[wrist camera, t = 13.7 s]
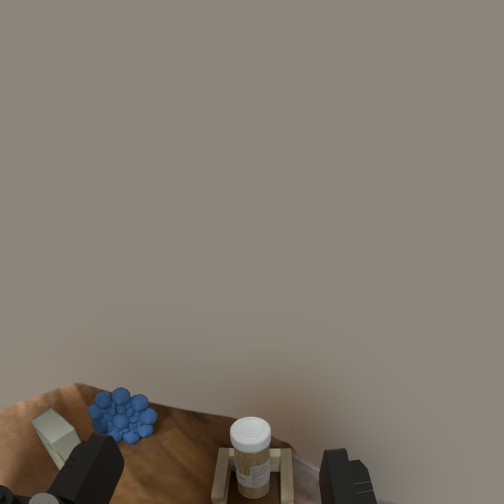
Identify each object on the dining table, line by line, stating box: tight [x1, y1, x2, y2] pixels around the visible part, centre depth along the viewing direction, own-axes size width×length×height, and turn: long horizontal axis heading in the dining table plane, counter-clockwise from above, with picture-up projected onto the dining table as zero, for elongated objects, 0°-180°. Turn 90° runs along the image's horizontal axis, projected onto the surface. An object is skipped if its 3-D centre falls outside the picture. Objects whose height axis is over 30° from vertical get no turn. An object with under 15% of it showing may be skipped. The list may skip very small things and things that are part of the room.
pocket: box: [211, 448, 294, 504], centre depth 33 cm, size 10×9×4 cm
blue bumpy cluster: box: [88, 387, 157, 444], centre depth 41 cm, size 12×7×12 cm, turn 100°
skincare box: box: [31, 408, 81, 470], centre depth 30 cm, size 6×4×12 cm
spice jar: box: [230, 417, 271, 499], centre depth 32 cm, size 5×5×13 cm
